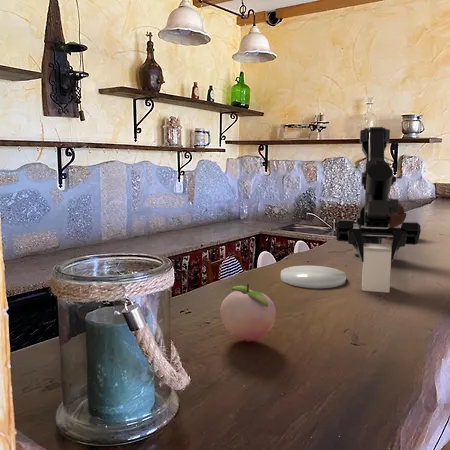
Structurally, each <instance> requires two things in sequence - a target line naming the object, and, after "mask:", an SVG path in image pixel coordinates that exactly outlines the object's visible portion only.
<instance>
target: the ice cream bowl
mask: <svg viewBox="0 0 450 450" xmlns="http://www.w3.org/2000/svg"><path fill="white" fill-rule="evenodd" d="M390 199H392V198H390V197H389V201H390ZM407 214H408V213H407V212H405V209H404V206H402V204H401V203H399V211H398V214H391V222H390V224H389V228H397V227H398V226H401V224H402V222H405V220H406V218H407ZM385 240H393V237H390V236H387V238H385Z"/></svg>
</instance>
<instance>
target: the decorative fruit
mask: <svg viewBox="0 0 450 450" xmlns="http://www.w3.org/2000/svg"><path fill="white" fill-rule="evenodd" d="M219 313H220V318H221V319H220V320H221V322H222V324H223V326H224V328H225V330H227V331H228V332H229V333H230V334H232V335H234V336H235V337H237V338H239V339H243V340H245V341H246V343H249V342H254V341H257V340H258V339H261V338H262V337H264V336H265V335H267V334H268V333H269V332H270V330H271V329H272V327H273V326H274V324H275V322H276V317H277V309H276V307H275V304H274V302H273V300H272V299H271V298H270V297H269V296H268V295H266V294H264V293H262V292H260V291H255V290H252V289H250V284H249V283H247V284H246V286H245V285H235V286H233V287H232V288H231V292H230V293H229V294H228V295H227V296H226V297H225V298H224V299H223V301H222V302H221V305H220V309H219Z"/></svg>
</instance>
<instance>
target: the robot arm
mask: <svg viewBox="0 0 450 450" xmlns="http://www.w3.org/2000/svg"><path fill="white" fill-rule="evenodd" d="M390 134H391V130H390V129H389V128H386V127H383V126H369V127H364V129H360V130H359V144H361V151H362V152H363V155H364V156H365V158H366V163H365V164H364V172H361V179H360V180H361V181H360V182H361V183H360V186H361V187H363V190H365V192H364V205H363V206H362V208H361V209H360V211H359V215H358V217H356V223H354V220H353V219H338V220H337V221H336V227H335V229H336V230H335V231H336V232H335V233H336V234H335V235H336V238H335V240H336V241H337V242H347V243H348V245H352V246H353V248H354V249H355V250H356V253H354V256H355V257H359V259H360V261H361V262H362V263H363V261H364V251H363V249H364V243H373V244H383V243H382V240H383V239H385V238H387V236H390V237H393V239H392V241H391V246H390V247H391V249H392V250H391V265H392V263H393V261H394V259H395V257H396V254H397V253H398V251H399V249H401V248H403V247H405V246H406V245H412V246H413V245H418V243H419V239H420V235H421V231H422V230H421V229H422V228H421V224H419V223H418V222H417V221H404V222H402V223H401V224H400V227H394V228H389V224H390V222H391V214H398V211H399V204H400V203H399V199H397V198H396V199H395V198H391V199H390V201H389V198H390V197H389V196H390V195H389V194H390V192H391V188H392V187H393V186H394V183H397V177H396V176H395V175H394V170H393V169H392V167H391V166H390V163H388V162H387V161H386V159H385V151H386V149H387V144H390V136H391V135H390ZM385 240H386V239H385Z"/></svg>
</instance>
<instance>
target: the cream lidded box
mask: <svg viewBox="0 0 450 450" xmlns="http://www.w3.org/2000/svg"><path fill="white" fill-rule="evenodd" d="M391 247H392V246H391V245H390V244H389V243H381V244H373V243H364V249H363V251H364V261H363V262H362V271H361V272H362V273H361V274H362V278H361V289H362V292H374V293H375V292H378V293H390V288H391V287H390V283H391V282H390V281H391V265H392V264H391V250H392V249H391Z"/></svg>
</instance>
